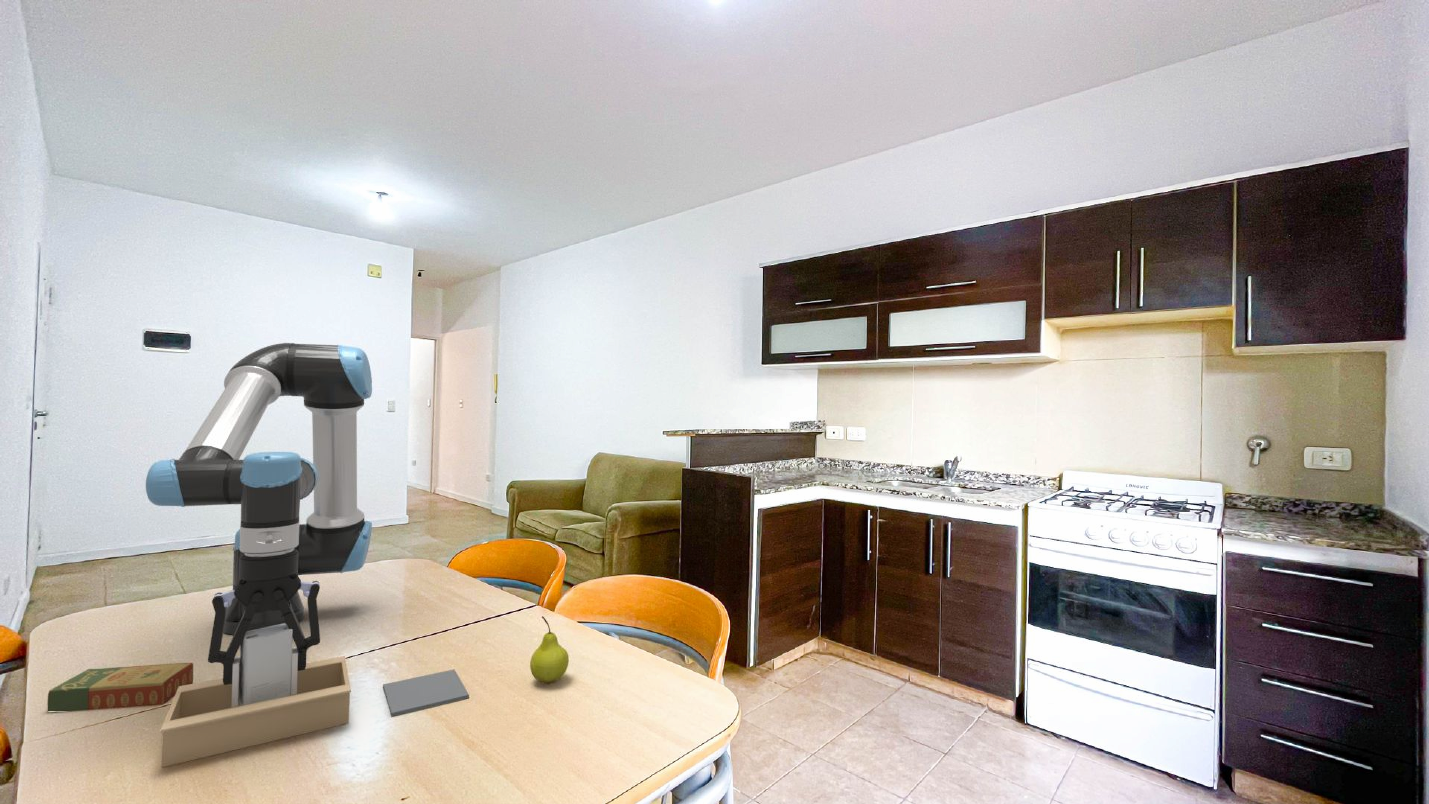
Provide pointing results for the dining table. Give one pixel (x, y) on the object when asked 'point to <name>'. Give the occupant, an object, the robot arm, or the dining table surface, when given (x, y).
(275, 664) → the skincare box
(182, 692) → the tray
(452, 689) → the mat
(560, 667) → the fruit
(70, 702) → the carton
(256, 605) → the robot arm
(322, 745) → the dining table surface
